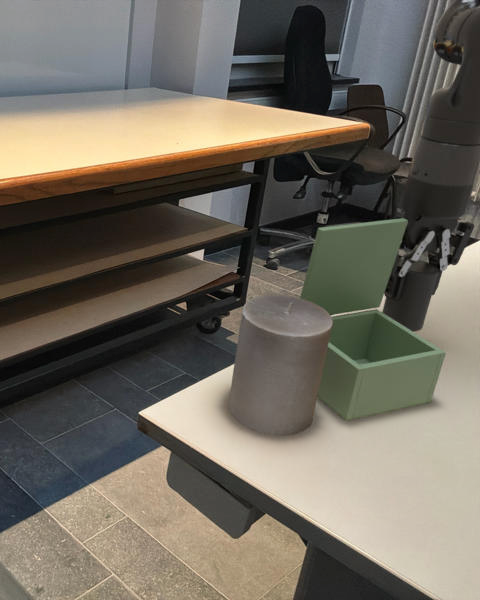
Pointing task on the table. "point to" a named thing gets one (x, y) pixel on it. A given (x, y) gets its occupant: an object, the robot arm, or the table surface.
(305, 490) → the table surface
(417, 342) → the bread box
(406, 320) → the dark grey cylinder
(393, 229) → the lid
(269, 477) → the table surface
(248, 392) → the pillar candle
